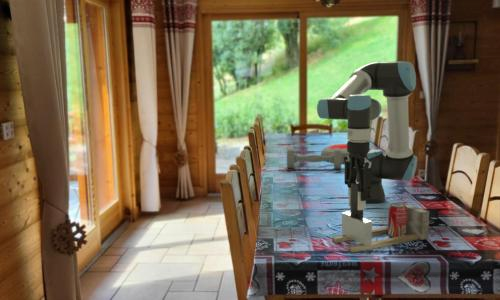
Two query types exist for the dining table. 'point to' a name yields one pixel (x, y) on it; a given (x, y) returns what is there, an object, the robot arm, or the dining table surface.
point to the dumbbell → (314, 158)
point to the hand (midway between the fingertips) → (356, 207)
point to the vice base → (414, 227)
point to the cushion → (330, 150)
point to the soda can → (397, 219)
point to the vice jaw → (356, 220)
